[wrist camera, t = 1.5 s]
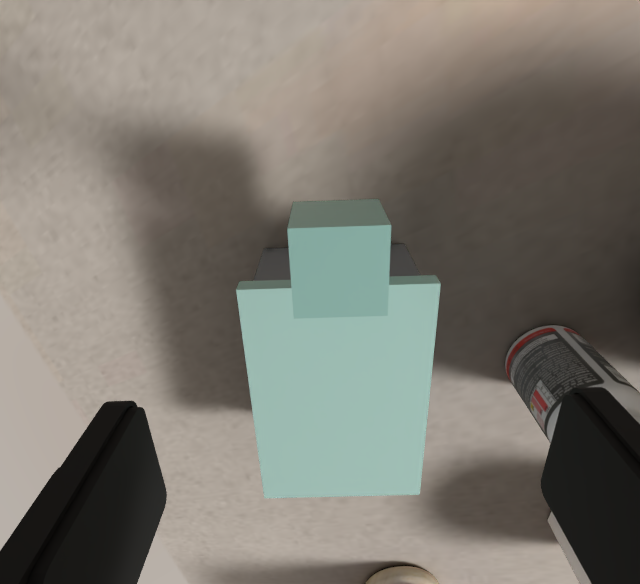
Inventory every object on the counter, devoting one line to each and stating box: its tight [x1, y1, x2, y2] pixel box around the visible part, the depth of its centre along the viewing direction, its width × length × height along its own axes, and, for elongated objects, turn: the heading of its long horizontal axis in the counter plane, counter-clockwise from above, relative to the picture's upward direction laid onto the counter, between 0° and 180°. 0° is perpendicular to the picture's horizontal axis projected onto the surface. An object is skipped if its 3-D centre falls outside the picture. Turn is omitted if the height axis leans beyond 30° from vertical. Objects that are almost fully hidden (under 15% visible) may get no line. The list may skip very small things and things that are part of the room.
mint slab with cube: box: [236, 199, 441, 498], centre depth 22 cm, size 19×10×4 cm, turn 2°
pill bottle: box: [505, 325, 640, 443], centre depth 27 cm, size 6×6×10 cm
